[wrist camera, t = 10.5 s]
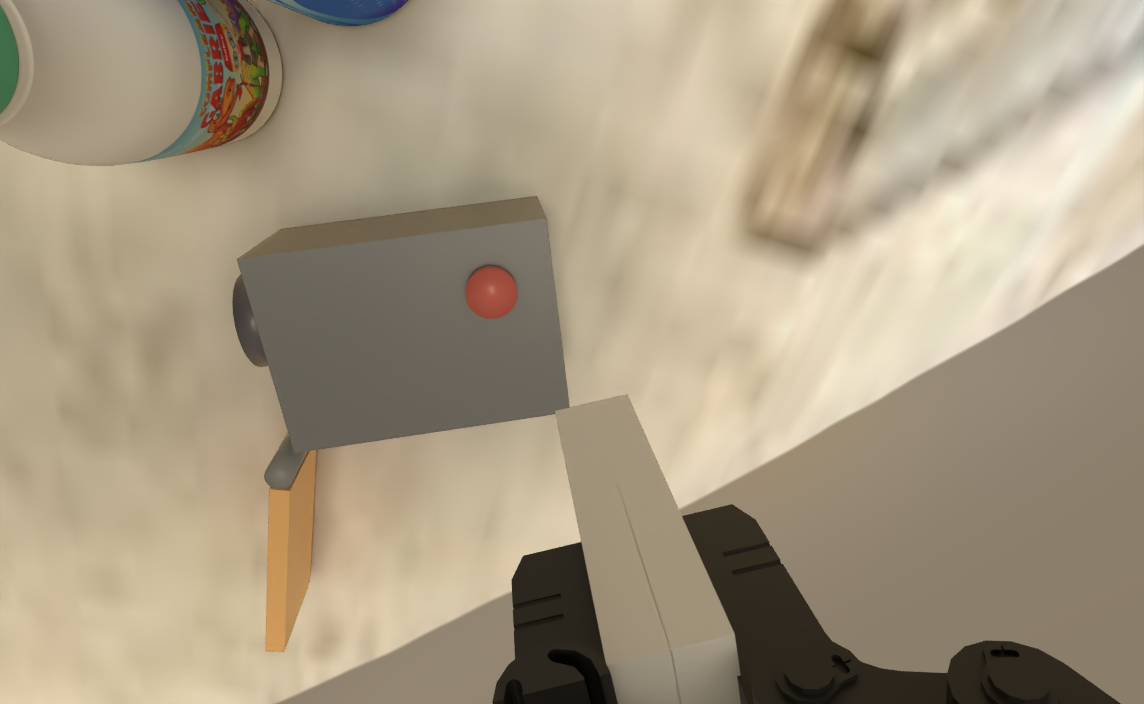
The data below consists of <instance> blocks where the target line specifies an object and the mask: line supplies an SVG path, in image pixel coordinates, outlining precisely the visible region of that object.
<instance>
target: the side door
mask: <svg viewBox="0 0 1144 704" xmlns="http://www.w3.org/2000/svg"><path fill="white" fill-rule="evenodd" d="M315 469H316V450H311V451H305V452H298V453H294V450H293V446H292V443H291V440H290V436H289V433H288V434H287V435H286V437H285V439H284V440H283V442H282V444H281V446H280V447H279V449H278V451H277V452H276V454H275V456H274V458H273V459H272V461H271V463H270V464H269V466H268V468H267V470H266V471H265V474H264V477H265V481H266V482H267V484H268V485H270V486H271V487H270V489H269V526H268V568H267V611H266V651H270V652H284V651H285V649H286V646H287V643H288V640H289V638H290V635H291V632H292V629H293V627H294V624H295V621H296V618H297V616H298V613H299V610H300V607H301V605H302V602H303V599H304V596H305V594H306V591H307V588H308V585H309V582H310V570H311V550H312V530H313V509H314V489H315Z"/></svg>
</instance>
